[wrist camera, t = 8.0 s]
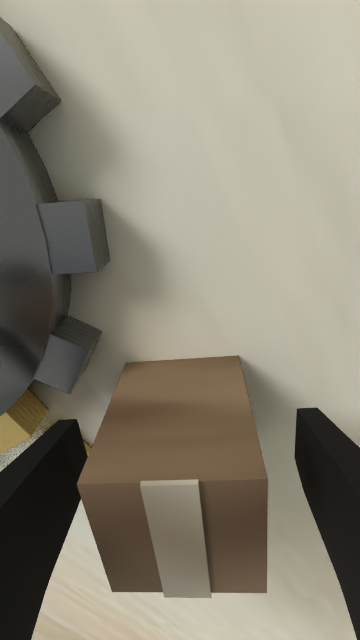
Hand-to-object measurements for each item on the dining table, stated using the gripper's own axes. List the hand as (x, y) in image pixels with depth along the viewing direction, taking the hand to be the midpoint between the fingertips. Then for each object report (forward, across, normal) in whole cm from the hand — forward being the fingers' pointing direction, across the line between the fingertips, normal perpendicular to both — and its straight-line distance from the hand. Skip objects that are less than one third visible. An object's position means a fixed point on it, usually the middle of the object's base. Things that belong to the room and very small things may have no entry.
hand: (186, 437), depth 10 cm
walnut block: (+2, 0, 0) cm, 2 cm away
